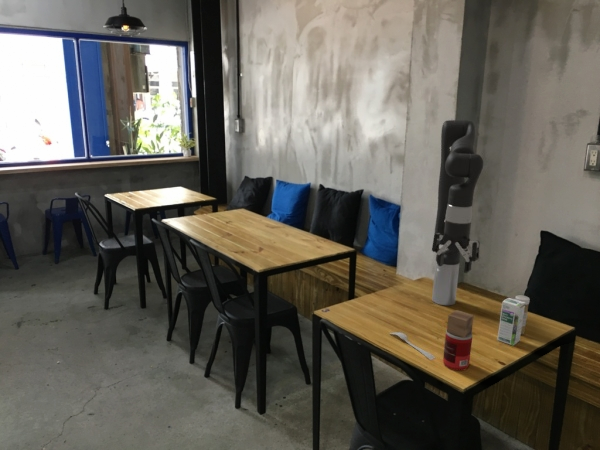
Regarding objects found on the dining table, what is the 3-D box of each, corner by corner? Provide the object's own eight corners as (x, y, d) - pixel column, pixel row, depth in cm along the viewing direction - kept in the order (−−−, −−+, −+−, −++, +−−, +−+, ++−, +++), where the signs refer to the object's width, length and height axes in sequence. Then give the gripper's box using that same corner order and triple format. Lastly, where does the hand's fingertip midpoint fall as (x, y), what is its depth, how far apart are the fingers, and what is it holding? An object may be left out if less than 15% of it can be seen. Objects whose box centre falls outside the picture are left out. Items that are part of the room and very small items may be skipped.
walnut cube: (454, 326, 148) (456, 309, 147) (471, 331, 145) (473, 315, 143) (446, 332, 144) (448, 315, 143) (464, 338, 141) (466, 320, 139)
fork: (429, 367, 150) (431, 360, 149) (386, 334, 167) (388, 327, 166) (436, 365, 151) (437, 358, 150) (393, 332, 168) (394, 325, 167)
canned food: (471, 362, 149) (474, 330, 146) (465, 373, 142) (469, 340, 139) (446, 355, 152) (449, 324, 150) (439, 366, 146) (443, 333, 143)
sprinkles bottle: (508, 329, 172) (513, 294, 168) (520, 329, 172) (525, 294, 169) (515, 335, 167) (520, 299, 164) (527, 335, 168) (532, 299, 164)
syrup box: (496, 340, 163) (501, 301, 160) (503, 335, 167) (509, 296, 164) (513, 346, 159) (519, 306, 156) (520, 340, 163) (526, 301, 160)
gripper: (486, 221, 143) (480, 271, 147) (442, 213, 152) (437, 260, 157) (476, 226, 138) (470, 278, 142) (431, 217, 147) (426, 266, 151)
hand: (453, 268), depth 149 cm, fingers open, 8 cm apart
